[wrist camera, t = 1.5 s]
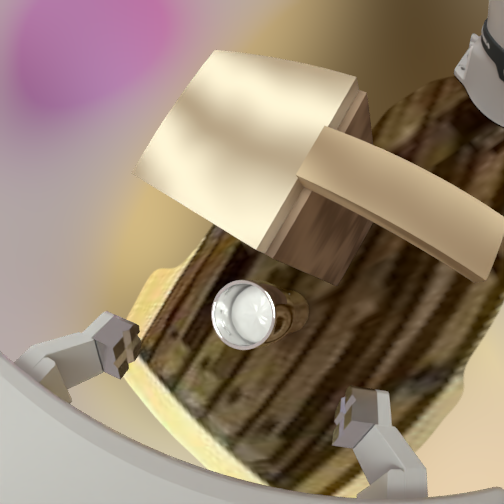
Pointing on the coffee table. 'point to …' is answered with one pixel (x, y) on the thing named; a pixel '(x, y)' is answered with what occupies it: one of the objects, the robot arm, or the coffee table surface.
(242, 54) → the beige t-shaped block
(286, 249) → the stand
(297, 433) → the coffee table surface
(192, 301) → the coffee table surface
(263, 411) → the coffee table surface
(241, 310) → the beer glass
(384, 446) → the robot arm
